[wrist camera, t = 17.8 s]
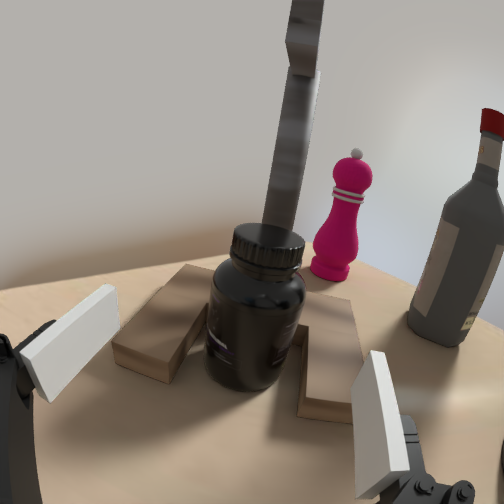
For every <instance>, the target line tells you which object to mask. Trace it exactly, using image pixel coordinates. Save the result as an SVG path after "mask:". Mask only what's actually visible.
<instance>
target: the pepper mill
mask: <svg viewBox="0 0 504 504" xmlns="http://www.w3.org/2000/svg"><path fill="white" fill-rule="evenodd" d="M351 156H352V158H344V159H341V160H340V161H338V163H336V165H335V167H334V170H333V178H334V180H335V183H336V186H335V187H333V193H332V196H334V200H333V206H332V209H331V212H330V214H329V217H328V218H327V220H326V221H325V223H324V224H323V226H322V227H321V228H320V229H319V231H318V232H317V234H316V236H315V239H314V241H313V249H314V251H315V253H316V256H314V257H313V258H312V262H311V266H310V269H311V271H312V272H313V273H314V274H315V275H317V276H319V277H321V278H323V279H326V280H330V281H343V280H345V279H346V278H347V276H348V272H349V269H350V267H349V265H348V264H349V263H350V262H352V261H353V260H354V259H355V258H356V256H357V253H358V236H357V229H356V221H357V214H358V210H359V207H360V204H362V203H364V201H363V200H364V197H365V195H364V194H363V192H364V191H365V190H366V189H367V188H369V187H370V185H371V183H372V171H371V169H370V167H369V166H368V165H367V164H366V163H365V162H363V161H361V160H360V159H361V158H362V156H363V153H362V151H361V150H360V149H358V148H355V149H353V150H352V152H351Z"/></svg>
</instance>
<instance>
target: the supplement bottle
mask: <svg viewBox="0 0 504 504" xmlns="http://www.w3.org/2000/svg"><path fill="white" fill-rule="evenodd" d="M304 248H305V241H304V239H303V238H302V237H301V236H299V235H298V234H296V233H295V232H292V231H290V230H288V229H285V228H282V227H279V226H274V225H269V224H262V223H245V224H241V225H239V226H237V227H236V228H235V230H234V234H233V240H232V245H231V247H230V253H229V255H230V258H229V259H227V260H225V261H224V262H222V263H221V264H220V265H219V266H218V267H217V269H216V270H215V272H214V274H213V277H212V283H211V291H210V299H209V308H208V317H207V327H206V336H205V346H204V364H205V367H206V369H207V371H208V373H209V374H210V375H211V376H212V377H213V378H214V379H215V380H216V381H217V382H218V383H220V384H222V385H223V386H225V387H228V388H230V389H233V390H237V391H245V392H250V391H258V390H261V389H264V388H267V387H269V386H270V385H272V384H273V383H274V382H275V381H276V380H277V379H278V378H279V376H280V374H281V372H282V370H283V367H284V364H285V361H286V359H287V356H288V353H289V350H290V347H291V344H292V341H293V338H294V335H295V332H296V329H297V326H298V323H299V319H300V316H301V313H302V310H303V307H304V303H305V299H306V295H307V290H306V285H305V282H304V280H303V278H302V277H301V275H300V274H299V273H298V271H299V270H300V267H301V264H302V256H303V252H304Z"/></svg>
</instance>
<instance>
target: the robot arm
mask: <svg viewBox="0 0 504 504" xmlns="http://www.w3.org/2000/svg"><path fill="white" fill-rule="evenodd" d="M119 329H120V320H119V311H118V300H117V288H116V287H114V286H111V285H108V284H106V283H105V284H104V285H103V286H101V287H100V288H99V289H97V290H96V291H95V292H93V293H92V294H91V295H89V296H88V297H87V298H85V299H84V300H83V301H82V302H80V303H79V304H78V305H76V306H75V307H74V308H72V309H71V310H70V311H69V312H67V313H66V314H65V315H64V316H62V317H61V318H60V319H59V320H57V321H56V320H52V321H49V322H47V323H45V324H43V325H42V326H41V327H40V328H38V330H36V331H35V332H33V334H31V335H30V336H29V337H27V338H26V339H25V340H24V341H22V342H21V343H20V344H19V345H18V346H16V347H15V348H14V349H12V346H11V344H10V341H9V339H8V337H7V336H6V335H4V334H0V504H43V503H42V498H41V493H40V487H39V481H38V474H37V466H36V457H35V445H34V426H33V392H32V390H33V389H34V388H36V390H37V392H38V394H39V396H41V397H42V398H43V399H45V400H46V401H47V402H49V403H51V402H52V401H53V400H54V399H55V398H56V397H57V395H58V394H59V393H60V392H61V391H62V390H63V389H64V388H65V387H66V385H67V384H68V383H69V382H70V381H71V380H72V379H73V378H74V377H75V376H76V375H77V373H78V372H79V371H80V370H81V369H82V368H83V367H84V366H85V365H86V364H87V363H88V362H89V361H90V360H91V359H92V357H93V356H94V355H95V354H96V353H97V352H98V351H99V350H100V349H101V348H102V347H103V346H104V345H105V344H106V343H107V342H108V341H109V340H110V339H111V338H112V337H113V336H114V334H115V333H116V332H117V331H118V330H119ZM350 390H351V402H352V415H353V430H354V451H355V499H373V498H374V497H376V496H377V495H378V494H380V501H378V502H377V503H375V504H473V502H474V497H475V490H474V487H473V485H472V484H471V483H470V482H468V481H465V480H461V481H459V482H457V483H456V484H454V485H453V486H450V485H444V484H439V483H436V481H435V479H434V478H433V477H432V476H431V475H430V474H427V473H426V471H425V466H424V461H423V456H422V451H421V446H420V443H419V437H418V436H417V434H418V432H417V428H416V424H415V422H414V421H413V419H412V418H411V417H410V415H400V413H399V409H398V404H397V400H396V396H395V391H394V387H393V383H392V379H391V376H390V372H389V368H388V364H387V361H386V357H385V353H384V352H378V351H371V350H370V352H369V354H368V356H367V358H366V360H365V362H364V364H363V366H362V368H361V370H360V372H359V374H358V376H357V377H356V379H355V381H354V383H353V385H352V386H351V388H350ZM502 458H503V469H504V443H503V452H502Z"/></svg>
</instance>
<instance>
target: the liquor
mask: <svg viewBox="0 0 504 504" xmlns="http://www.w3.org/2000/svg"><path fill="white" fill-rule="evenodd" d="M480 133H481V140H480V146H479V152H478V158H477V164H476V168H475V172H474V173H473V175H472V180H470V181H469V182H468V183H467V184H465V185H464V186H463V187H462V188H460V189H459V190H458V191H456V192H455V193H454V194H452V195H451V196H450V197H449V198H448V199H447V201H446V203H445V204H444V208H443V211H442V215H441V218H440V222H439V225H438V229H437V232H436V235H435V238H434V242H433V245H432V248H431V251H430V254H429V257H428V259H427V262H426V265H425V268H424V271H423V273H422V276H421V279H420V281H419V284H418V286H417V289H416V291H415V294H414V296H413V299H412V301H411V303H410V309H409V314H408V325H409V326H410V327H411V329H412V330H413V331H414V332H415V333H416V334H417V335H418V336H421V337H423V338H426V339H428V340H431V341H433V342H436V343H438V344H441V345H443V346H446V347H451V346H455V345H458V344H460V343H461V342H463V341H464V339H465V337H466V336H467V334H468V332H469V330H470V328H471V326H472V324H473V322H474V320H475V318H476V316H477V314H478V312H479V310H480V308H481V306H482V304H483V301H484V299H485V297H486V295H487V293H488V290H489V288H490V285H491V283H492V281H493V278H494V276H495V273H496V271H497V268H498V265H499V263H500V260H501V257H502V254H503V251H504V207H503V204H502V201H501V198H500V196H499V193H498V190H497V187H498V172H499V165H500V159H501V151H502V142H503V141H504V115H503V114H502V113H500V112H498V111H496V110H493V109H489V108H484V109H482V116H481V125H480Z"/></svg>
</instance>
